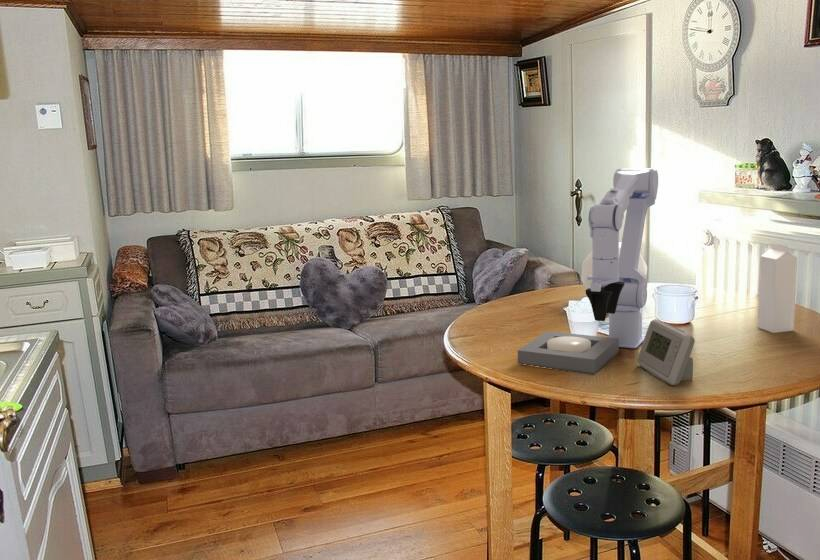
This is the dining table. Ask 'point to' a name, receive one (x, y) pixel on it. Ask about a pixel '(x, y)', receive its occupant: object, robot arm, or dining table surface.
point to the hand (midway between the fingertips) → (605, 316)
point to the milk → (777, 289)
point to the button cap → (569, 344)
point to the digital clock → (667, 353)
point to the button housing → (569, 354)
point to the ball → (588, 268)
